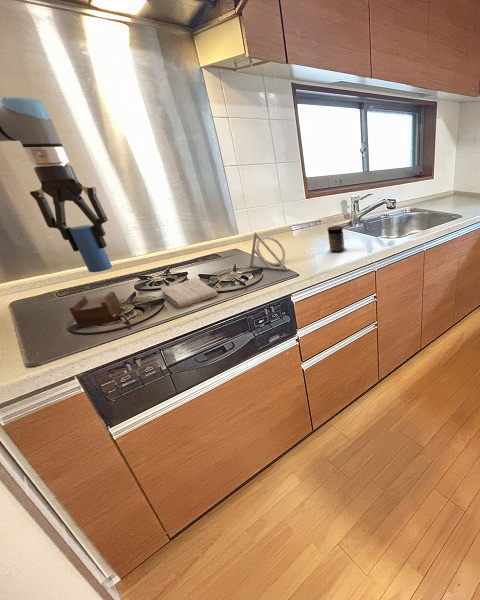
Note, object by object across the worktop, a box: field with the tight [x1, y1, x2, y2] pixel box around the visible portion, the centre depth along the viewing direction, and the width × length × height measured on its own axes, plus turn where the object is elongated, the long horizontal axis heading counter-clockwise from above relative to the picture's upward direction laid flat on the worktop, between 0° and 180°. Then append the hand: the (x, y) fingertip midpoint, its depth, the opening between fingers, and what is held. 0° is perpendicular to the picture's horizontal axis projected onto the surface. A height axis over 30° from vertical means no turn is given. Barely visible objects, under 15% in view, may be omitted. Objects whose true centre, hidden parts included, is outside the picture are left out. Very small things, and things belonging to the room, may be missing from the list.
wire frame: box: [249, 232, 289, 271], centre depth 131 cm, size 18×13×16 cm
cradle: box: [68, 290, 123, 329], centre depth 93 cm, size 8×8×6 cm
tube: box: [69, 224, 113, 273], centre depth 97 cm, size 13×6×6 cm
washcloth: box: [160, 278, 219, 308], centre depth 106 cm, size 12×18×3 cm, turn 50°
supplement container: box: [327, 225, 346, 254], centre depth 146 cm, size 7×7×10 cm
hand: (90, 248), depth 97 cm, fingers closed on tube, 6 cm apart
